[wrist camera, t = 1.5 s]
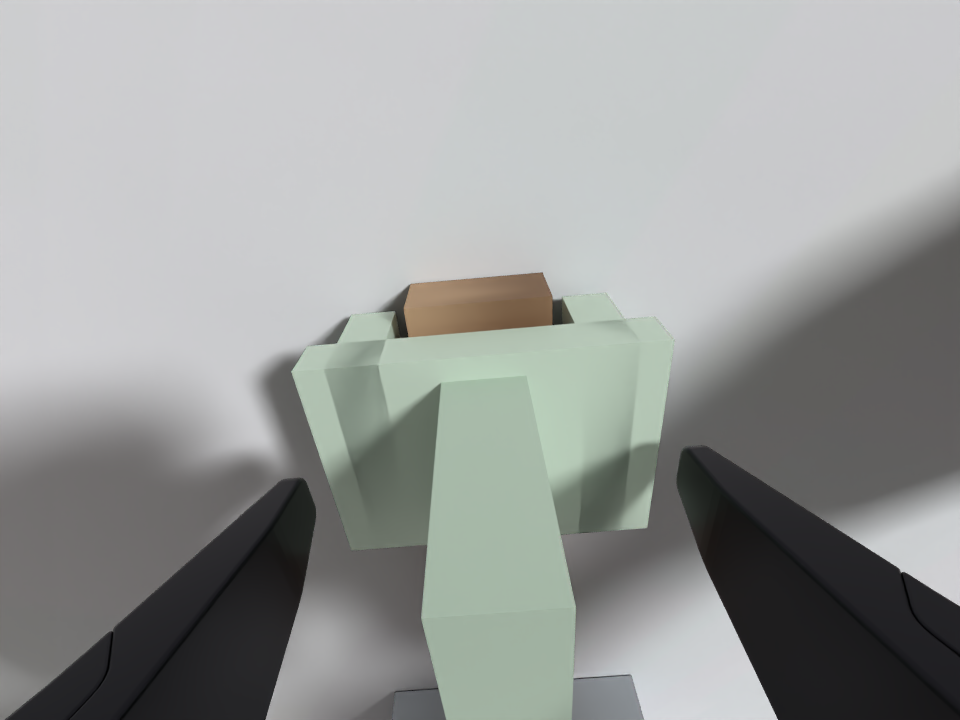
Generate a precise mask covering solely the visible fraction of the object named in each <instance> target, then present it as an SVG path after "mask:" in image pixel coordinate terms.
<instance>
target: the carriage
mask: <svg viewBox="0 0 960 720" xmlns="http://www.w3.org/2000/svg"><path fill="white" fill-rule="evenodd" d="M674 341H675V339H674V338H673V337H672V336H671V335H670V333H669V332H668V331H667V330H666V329H665V328H664V326H663V325H662V324H661V323H660V322H659V321H658V319H657V318H656V317H644V318H632V319H625V318H624V317H623V316H622V314H621V313H620V311H619V310H618V309H617V307H616V306H615V304H614V303H613V301H612V300H611V299H610V297H609V296H608V294H607V293H599V294H587V295H576V296H564V297H562V324H561V325H550V326H538V327H526V328H514V329H502V330H491V331H479V332H467V333H455V334H444V335H432V336H420V337H408V338H400V333H399V328H398V323H397V317H396V312H395V311H390V312H378V313H366V314H355V315H351V317H350V319H349V321H348V323H347V325H346V327H345V329H344V331H343V333H342V335H341V337H340V339H339V341H338V342H337V344H326V345H314V346H307V348H306V349H305V351H304V352H303V354H302V356H301V357H300V359H299V360H298V362H297V364H296V365H295V367H294V368H293V370H292V372H291V373H292V375H293V378H294V381H295V384H296V387H297V390H298V393H299V396H300V399H301V402H302V405H303V408H304V411H305V414H306V417H307V420H308V423H309V426H310V429H311V432H312V435H313V438H314V441H315V444H316V447H317V450H318V453H319V456H320V459H321V462H322V465H323V468H324V471H325V474H326V477H327V480H328V483H329V486H330V489H331V491H332V494H333V497H334V500H335V503H336V506H337V509H338V512H339V515H340V518H341V521H342V524H343V527H344V530H345V533H346V536H347V539H348V542H349V545H350V548H351V551H355V550H368V549H381V548H394V547H407V546H420V545H427V556H426V568H425V579H424V591H423V603H422V615H421V620H422V624H423V628H424V632H425V636H426V640H427V644H428V648H429V652H430V656H431V660H432V664H433V668H434V672H435V676H436V680H437V684H438V688H439V692H440V696H441V700H442V704H443V709H444V713H445V717H446V720H572V700H573V674H574V648H575V622H576V605H575V600H574V595H573V591H572V586H571V581H570V577H569V572H568V567H567V563H566V558H565V553H564V549H563V544H562V539H561V535H563V534H576V533H589V532H602V531H615V530H628V529H641V528H647V526H648V519H649V512H650V505H651V498H652V491H653V485H654V478H655V471H656V464H657V457H658V451H659V444H660V437H661V430H662V423H663V416H664V410H665V403H666V396H667V389H668V382H669V376H670V369H671V362H672V355H673V348H674Z"/></svg>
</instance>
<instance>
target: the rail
mask: <svg viewBox="0 0 960 720" xmlns="http://www.w3.org/2000/svg"><path fill="white" fill-rule="evenodd" d="M404 314H405V320H406V325H407V331H408V337H420V336H432V335H444V334H455V333H467V332H479V331H491V330H502V329H514V328H526V327H538V326H550V325H552V294H551V292H550V289H549V287H548V285H547V282H546V280H545V278H544V275H543V273H532V274H520V275H509V276H497V277H486V278H474V279H463V280H451V281H440V282H428V283H417V284H411V285H410V288H409V292H408V295H407V299H406V302H405V306H404Z"/></svg>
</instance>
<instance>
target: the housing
mask: <svg viewBox="0 0 960 720" xmlns="http://www.w3.org/2000/svg"><path fill="white" fill-rule="evenodd" d="M392 720H446V717H445V713H444V709H443V704H442V700H441V696H440V692H439V689H433V690H419V691H404V692H395V697H394V705H393V713H392ZM572 720H644V718H643V714H642V711H641V707H640V704H639V700H638V697H637V693H636V690H635V686H634V683H633V679H632V676H631V675H629V676H615V677H601V678H587V679H573V700H572Z"/></svg>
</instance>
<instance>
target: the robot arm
mask: <svg viewBox="0 0 960 720" xmlns="http://www.w3.org/2000/svg"><path fill="white" fill-rule="evenodd" d="M677 488H678V491H679V494H680V497H681V500H682V503H683V506H684V508H685V511H686V514H687V517H688V520H689V523H690V526H691V529H692V531H693V534H694V537H695V540H696V543H697V546H698V549H699V551H700V554H701V557H702V559H703V562H704V564H705V567H706V569H707V571H708V573H709V576H710V578H711V580H712V582H713V584H714V586H715V588H716V590H717V592H718V594H719V597H720V599H721V601H722V603H723V605H724V607H725V609H726V611H727V613H728V615H729V618H730V620H731V622H732V624H733V626H734V628H735V630H736V632H737V634H738V636H739V639H740V641H741V643H742V645H743V647H744V649H745V651H746V653H747V655H748V657H749V660H750V662H751V664H752V666H753V668H754V670H755V672H756V674H757V676H758V678H759V681H760V683H761V685H762V687H763V689H764V691H765V693H766V695H767V697H768V699H769V702H770V704H771V706H772V708H773V710H774V712H775V714H776V716H777V718H778V720H960V606H958V605H957V604H955V603H954V602H952V601H950V600H949V599H947V598H945V597H944V596H942V595H941V594H939V593H937V592H936V591H934V590H932V589H931V588H929V587H928V586H926V585H925V584H923V583H921V582H920V581H918V580H917V579H915V578H914V577H912V576H910V575H909V574H907V573H905V572H901V571H900V569H899V568H898V567H896V566H894V565H893V564H891V563H890V562H888V561H887V560H885V559H883V558H882V557H880V556H879V555H877V554H876V553H874V552H872V551H871V550H869V549H868V548H866V547H865V546H863V545H861V544H860V543H858V542H857V541H855V540H853V539H852V538H850V537H849V536H847V535H846V534H844V533H842V532H841V531H839V530H838V529H836V528H835V527H833V526H831V525H830V524H828V523H827V522H825V521H824V520H822V519H820V518H819V517H817V516H816V515H814V514H813V513H811V512H809V511H808V510H806V509H805V508H803V507H802V506H800V505H798V504H797V503H795V502H794V501H792V500H791V499H789V498H787V497H786V496H784V495H783V494H781V493H780V492H778V491H776V490H775V489H773V488H772V487H770V486H768V485H767V484H765V483H764V482H762V481H761V480H759V479H757V478H756V477H754V476H753V475H751V474H750V473H748V472H746V471H745V470H743V469H742V468H740V467H739V466H737V465H735V464H734V463H732V462H731V461H729V460H728V459H726V458H724V457H723V456H721V455H720V454H718V453H717V452H715V451H713V450H712V449H710V448H709V447H707V446H702V445H701V446H688V447H685V448H683V449H682V451H681V455H680V461H679V467H678V472H677ZM315 520H316V508H315V504H314V502H313V499H312V496H311V493H310V491H309V488H308V485H307V483H306V481H305V480H304V479H303V478H290V479H283V480H281V481H280V482H278V483H277V484H276V485H275V486H274V487H273V488H272V489H270V490H269V491H268V492H267V493H266V494H265V495H264V496H262V497H261V498H260V499H259V500H258V501H257V502H256V503H255V504H253V505H252V506H251V507H250V508H249V509H248V510H247V511H245V512H244V513H243V514H242V515H241V516H240V517H239V518H238V519H236V520H235V521H234V522H233V523H232V524H231V525H230V526H228V527H227V528H226V529H225V530H224V531H223V532H222V533H221V534H219V535H218V536H217V537H216V538H215V539H214V540H213V541H212V542H210V543H209V544H208V545H207V546H206V547H205V548H204V549H202V550H201V551H200V552H199V553H198V554H197V555H196V556H195V557H193V558H192V559H191V560H190V561H189V562H188V563H187V564H185V565H184V566H183V567H182V568H181V569H180V570H179V571H178V572H176V573H175V574H174V575H173V576H172V577H171V578H170V579H168V580H167V581H166V582H165V583H164V584H163V585H162V586H161V587H159V588H158V589H157V590H156V591H155V592H154V593H153V594H151V595H150V596H149V597H148V598H147V599H146V600H145V601H144V602H142V603H141V604H140V605H139V606H138V607H137V608H136V609H134V610H133V611H132V612H131V613H130V614H129V615H128V616H127V617H125V618H124V619H123V620H122V621H121V622H120V623H119V624H117V625H116V626H115V627H114V630H113V632H112V631H111V632H108V633H107V634H106V635H105V636H104V637H103V638H101V639H100V640H99V641H98V642H97V643H96V644H95V645H94V646H92V647H91V648H90V649H89V650H88V651H87V652H86V653H84V654H83V655H82V656H81V657H80V658H79V659H77V660H76V661H75V662H74V663H73V664H72V665H70V666H69V667H68V668H67V669H66V670H65V671H63V672H62V673H61V674H60V675H59V676H58V677H56V678H55V679H54V680H53V681H52V682H51V683H49V684H48V685H47V686H46V687H45V688H43V689H42V690H41V691H40V692H38V693H37V694H36V695H35V696H33V697H32V698H31V699H30V700H29V701H27V702H26V703H25V704H24V705H22V706H21V707H20V708H19V709H17V710H16V711H15V712H14V713H13V714H11V715H10V716H9V717H8V718H6V719H5V720H265V719H266V716H267V712H268V709H269V705H270V702H271V699H272V695H273V692H274V688H275V685H276V681H277V678H278V675H279V671H280V668H281V664H282V661H283V658H284V654H285V651H286V647H287V644H288V641H289V637H290V634H291V630H292V627H293V623H294V620H295V617H296V613H297V610H298V606H299V603H300V599H301V595H302V591H303V586H304V581H305V576H306V570H307V565H308V559H309V553H310V548H311V542H312V537H313V531H314V525H315Z"/></svg>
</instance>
